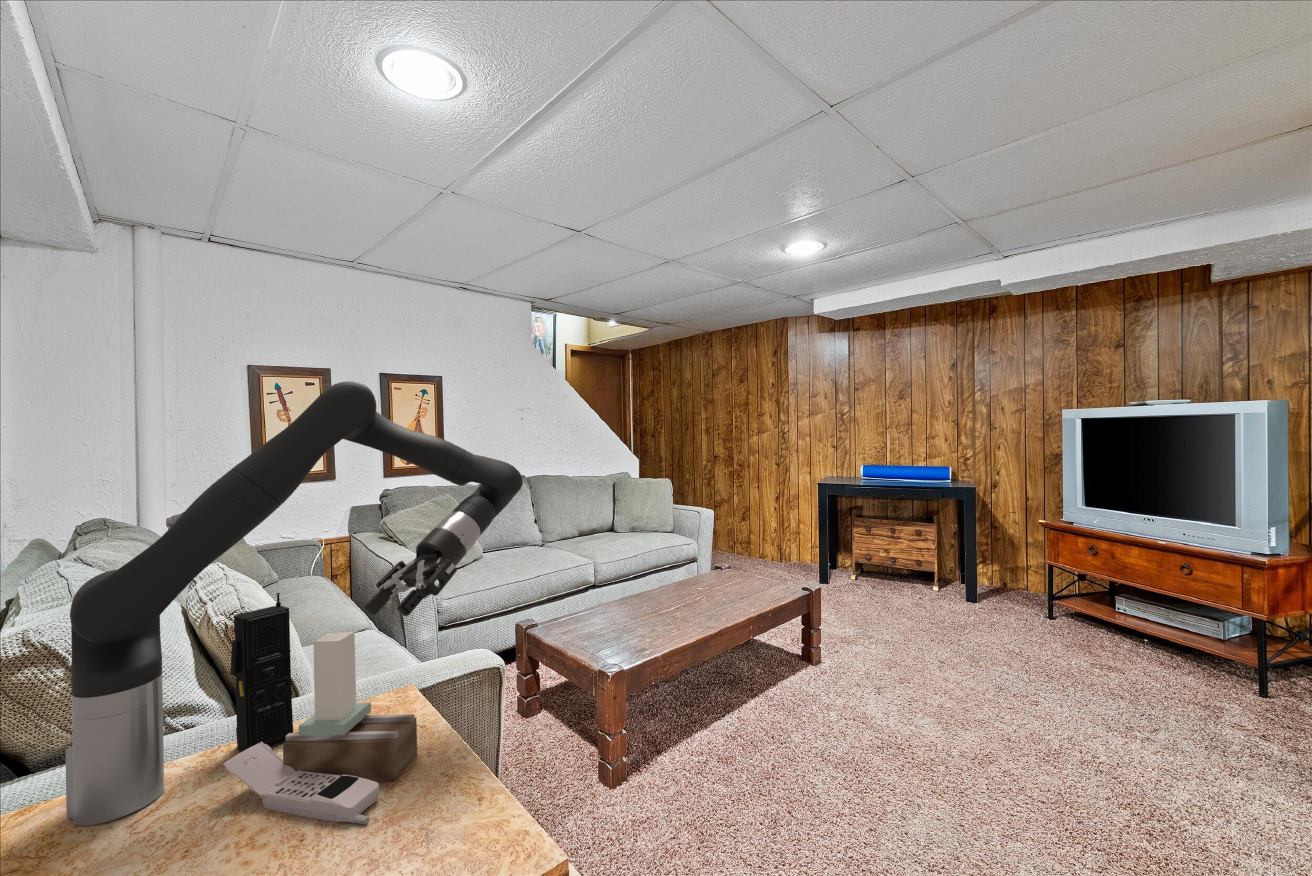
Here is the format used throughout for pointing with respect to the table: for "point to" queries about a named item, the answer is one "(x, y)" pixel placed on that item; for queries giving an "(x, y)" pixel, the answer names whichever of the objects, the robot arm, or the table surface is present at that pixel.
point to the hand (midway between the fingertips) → (384, 611)
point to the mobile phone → (303, 787)
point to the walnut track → (358, 749)
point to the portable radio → (262, 676)
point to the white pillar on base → (334, 687)
